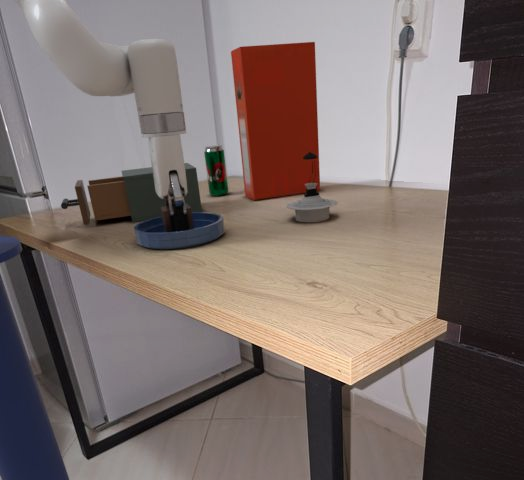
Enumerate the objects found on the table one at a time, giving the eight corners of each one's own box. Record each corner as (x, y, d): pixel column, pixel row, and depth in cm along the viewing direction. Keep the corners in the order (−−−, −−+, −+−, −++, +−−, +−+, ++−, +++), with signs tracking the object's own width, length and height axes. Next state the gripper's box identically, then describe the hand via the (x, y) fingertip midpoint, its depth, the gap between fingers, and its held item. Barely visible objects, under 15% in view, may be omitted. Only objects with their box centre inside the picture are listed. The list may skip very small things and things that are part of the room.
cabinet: (132, 222, 109) (123, 176, 105) (129, 212, 120) (121, 170, 116) (202, 212, 113) (196, 167, 108) (193, 203, 123) (187, 162, 119)
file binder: (245, 196, 127) (230, 50, 112) (307, 187, 131) (301, 46, 117) (254, 200, 120) (240, 46, 105) (320, 191, 124) (315, 41, 110)
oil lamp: (296, 156, 86) (347, 149, 89) (274, 153, 95) (321, 147, 98) (300, 227, 92) (347, 218, 95) (279, 218, 100) (323, 210, 103)
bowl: (140, 256, 83) (136, 238, 82) (134, 235, 97) (131, 220, 96) (233, 241, 87) (231, 224, 85) (215, 223, 101) (213, 208, 100)
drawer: (64, 226, 106) (55, 189, 103) (68, 217, 116) (59, 182, 113) (151, 214, 110) (144, 178, 107) (147, 206, 120) (140, 172, 117)
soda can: (232, 193, 133) (227, 144, 127) (222, 196, 129) (216, 147, 123) (216, 193, 135) (210, 145, 130) (206, 196, 131) (199, 148, 126)
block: (167, 239, 89) (163, 211, 87) (164, 233, 93) (160, 206, 91) (195, 235, 90) (191, 207, 88) (190, 230, 94) (187, 203, 92)
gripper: (137, 126, 90) (154, 227, 98) (144, 129, 75) (164, 247, 83) (178, 122, 92) (192, 222, 100) (193, 124, 77) (207, 240, 85)
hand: (179, 232), depth 92 cm, fingers closed on block, 5 cm apart
